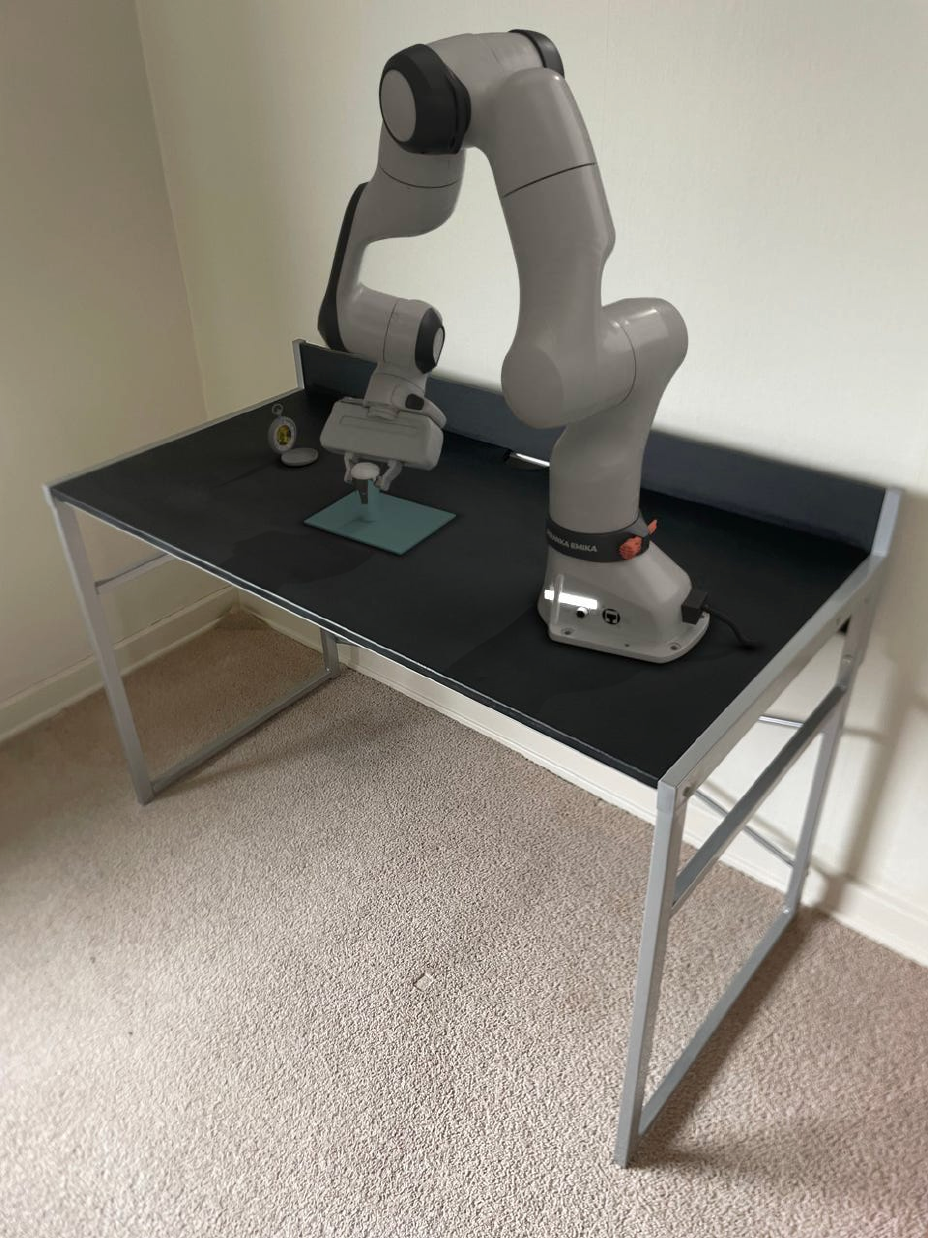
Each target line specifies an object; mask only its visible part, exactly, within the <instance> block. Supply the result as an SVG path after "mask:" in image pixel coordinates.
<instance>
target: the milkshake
mask: <svg viewBox="0 0 928 1238" xmlns="http://www.w3.org/2000/svg"><path fill="white" fill-rule="evenodd" d="M354 465H355V466H354V467H353V468H352V470H351V476H352V481H353V484H352V485H353V490H354V491H355V494H356V499H357V504H358V509H359V515H360V519H361V520H363V521H367V522H372V521H376V520H377V519H379V518H380V493H381V490H380V489H378V488H376V487H375V484H376V482H377V478H378V476H381V470H382V467H383V465H384V461H383V462H381V466H380V467H379V466H378V465H377V464H375V463H373V462H370V461H369V462H358V464H354Z"/></svg>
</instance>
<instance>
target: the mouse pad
mask: <svg viewBox="0 0 928 1238" xmlns="http://www.w3.org/2000/svg"><path fill="white" fill-rule="evenodd" d="M456 516H457V515H456V514H455V513H453V512H452V513H451V512H448V511H444V510H441V509H437V508H434V507H431V506H428V505H423V504H421V503H417V502H414V501H410V500H407V499H403V498H400V497H398V496H397V497H396V496H392V495H389V494H386V493H383V492H380V518H379V519H377V520H376V521H372V522H367V521H363V520H361V519H360V515H359V509H358V504H357V499H356V494H355V490H354V491H352V492H351V493H349V494H347V495H345V496H344V497H343V498H340V499H339V500H337V501H335V502H334V503H332V504H331V505H328V506H327V507H326V508H323V509H322V510H320V511H319V512H317V513H315V514H313V515H312V516H311V517H309V518H307V519H305V520H304V521H303V523H304V524H305V525H307V526H311V527H314V528H317V529H320V530H323V531H326V532H329V533H333V534H335V535H338V536H341V537H345V538H347V539H351V540H353V541H356V542H359V543H363V544H366V545H369V546H371V547H375V548H377V549H380V550H384V551H387V552H389V553H393V554H396V555H398V556H402V555H403V554H405V553H406V552H408V551H409V550H411V549H412V548H413V547H415V546H417V545H418V544H419V543H421V542H422V541H423V540H424V539H426V538H428V537H429V536H430V535H432V534H433V533H435V532H436V531H437V530H439V529H440V528H442V527H443V526H445V525H446V524H448V523H449V522H451V521H452V520H453V519H454V518H456Z"/></svg>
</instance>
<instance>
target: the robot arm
mask: <svg viewBox="0 0 928 1238" xmlns="http://www.w3.org/2000/svg"><path fill="white" fill-rule="evenodd" d="M378 103H379V110H380V115H381V119H382V121H381V127H380V131H379V133H380V134H379V139H378V150H377V151H378V152H377V161H376V168H375V170H374V174H373V175H372V177H371V179H370V180H368V181H364V182H362V183H359V184H358V185H357V187H356V188H355V189H354V191H353V193H352V194H351V197H350V199H349V201H348V203H347V206H346V208H345V212H344V215H343V219H342V223H341V226H340V230H339V234H338V238H337V242H336V246H335V251H334V255H333V259H332V264H331V268H330V273H329V278H328V282H327V286H326V288H325V293H324V296H323V297H322V301H321V303H320V306H319V309H318V313H317V324H316V325H317V326H316V327H317V331H318V333H319V335H320V337H321V339H322V340H323V342H324V343H325V344H326V346H327V347H328V348H329V350H331V351H333V352H340V353H344V354H351V355H358V356H360V357H364V358H366V359H370V360H374V361H378V363H377V366H376V368H375V369H374V371H373V372H372V374H371V376H370V379H369V383H368V385H367V388H366V391H365V394H364V398H353V397H350V396H344V397H343V398H341V399H338V400H337V401H336V402H334V404H333V407H332V410H331V413H330V414H329V416H328V417H327V420H326V421H325V424H324V426H323V429H322V430H321V433H320V436H319V442H320V445H321V447H322V448H323V449H325V450H326V451H328V452H329V453H330V454H336V455H341V456H343V460H344V464H345V470H346V471H345V474H344V477H343V480H344V482H345V483H346V484H350V485H353V481H352V476H351V470H352V468H353V467H354V466H355V465H356V464H358V463H359V462H360V459H363V460H369V461H374V462H380V463H383V464H387V467H388V469H387V470H386V471H385V472H384V474H382V475H380V476H378V478H377V482H376V484H375V487H376V488H378V489H380V491H385V492H386V491H387V492H388V491H389V488H390V485H391V483H392V481H394V479H396V478H397V477H398V475H400V473H401V472H402V470H403V467H407V468H412V469H418V470H422V471H423V470H424V471H428V472H430V471H432V470H433V469H434V468H435V467H436V466H437V465H438V463H439V459H440V455H441V452H442V447H443V443H444V433H443V428H444V427H445V425H446V423H447V418H446V416H445V414H444V413H443V412H442V411H441V410H440V409H439V407H437V405H435V403H433V402H432V401H431V400H429V399H428V398H426V397H425V395H426V385H427V381H428V379H429V376H430V375H431V374H432V372H433V370H434V369H435V368H436V367H438V363H439V361H440V359H441V358H440V357H441V354H442V352H443V349H444V344H445V341H446V340H445V339H446V330H445V327H444V323H443V322H444V320H443V315H442V314H441V312H440V311H439V310H438V309H437V308H436V307H434V306H433V305H432V304H431V303H428V302H426V301H424V300H421V299H413V298H411V299H408V298H404V297H399V296H396V295H392V294H389V293H385V292H382V291H378V290H376V289H372V288H370V287H368V286H366V285H365V284H364V283H363V282H362V281H361V277H362V273H363V269H364V266H365V262H366V259H367V255H368V251H369V247H370V244H372V243H375V242H379V241H384V240H388V239H400V238H414V237H415V238H416V237H419V236H422V235H423V236H424V235H426V234H429V233H432V232H433V231H435V230H437V229H438V228H441V226H443V225H444V224H445V223H447V221H448V220H450V218H451V217H452V216H453V214H454V213H455V211H456V209H457V206H458V204H459V199H460V197H461V193H462V188H463V182H464V177H465V169H466V163H467V154H468V153H467V152H468V149H472V148H476V149H478V150H479V151H481V152H482V153H483V154H484V155H485V157H486V159H487V161H488V163H489V166H490V169H491V173H492V177H493V182H494V185H495V190H496V192H497V196H498V200H499V204H500V207H501V211H502V214H503V218H504V222H505V224H506V228H507V232H508V236H509V240H510V243H511V244H510V245H511V248H512V250H513V256H514V259H515V264H516V269H517V276H518V288H519V304H518V317H517V324H516V329H515V333H514V336H513V340H512V343H511V345H510V346H509V349H508V351H507V352H506V354H505V356H504V358H503V361H502V364H501V369H500V386H501V391H502V395H503V399H504V400H505V402H506V405H507V407H508V408H509V410H510V412H511V413H512V414H513V415H514V416H515V417H516V418H517V419H518V421H520V422H521V423H522V424H524V425H525V426H527V427H529V428H531V429H536V430H545V429H555V428H561V427H565V429H564V431H563V432H562V434H561V435H560V436H559V437H558V439H557V441H556V442H555V444H554V445H553V447H552V450H551V452H550V456H549V462H548V464H549V465H548V466H549V467H548V468H549V469H548V471H549V473H548V474H549V477H548V479H549V482H548V483H549V486H548V487H549V488H548V489H549V490H548V491H549V492H548V494H549V500H548V501H549V507H548V508H547V510H546V514H545V539H546V543H547V546H548V549H547V550H548V551H547V562H546V569H545V574H544V580H543V584H542V588H541V592H540V594H539V598H538V600H537V611H538V614H539V615H540V617H541V619H542V620H543V621H544V622H545V623H546V625H547V631H548V632H547V633H548V636H549V638H550V640H552V641H553V642H558V643H563V644H566V645H571V646H576V647H580V648H585V649H591V650H595V651H599V652H604V653H609V654H613V655H617V656H623V657H628V658H632V659H636V660H640V661H646V662H651V663H656V664H665V663H668V662H671V661H674V660H676V659H678V658H680V657H682V656H684V655H685V654H686V653H688V652H689V651H691V650H692V649H693V648H694V647H695V646H696V645H697V644H698V643H699V642H700V640H702V638H703V636H704V635H705V633H706V631H707V630H708V627H709V624H710V616H711V617H713V618H716V619H718V620H719V621H721V622H723V623H724V624H725V625H727V626H728V627H730V629H731V630H732V632H733V634H734V636H735V637H736V639H737V640H738V642H740V644H742V645H744V646H747V647H752V648H757V647H758V644H759V641H758V640H752V639H748V638H747V637H746V636H744V635H743V633H742V631H741V629H740V627H739V626H738V624H737V623H736V622H735V621H733V619H731V618H730V617H728V615H725V614H724V613H722V612H720V611H718V610H715V609H714V608H712V607H710V606H708V605H707V599H708V591H706V590H700V589H696V588H693V586H692V581H691V579H690V576H689V574H688V573H687V572H686V571H685V570H684V569H683V568H682V567H680V565H678V564H677V563H676V562H675V561H674V560H673V559H671V557H669V556H668V555H667V554H666V553H665V552H664V551H663V550H662V549H661V548H659V546H658V545H656V544H655V543H654V542H653V541H652V540H651V534H652V533H654V531H655V530H656V529H657V522H658V520H657V519H653V521H652V522H650V524H647V523H646V522H645V519H644V516H643V514H642V511H641V509H640V508H639V505H640V491H641V480H642V469H643V468H642V467H643V459H644V455H645V450H646V446H647V443H648V438H649V435H650V432H651V429H652V427H653V424H654V420H655V418H656V415H657V412H658V410H659V408H660V407H659V406H660V405H661V401H662V399H663V397H664V394H665V392H666V390H667V387H668V386H669V384H670V382H671V381H672V379H673V377H674V375H675V374H676V372H678V370H679V369H680V367H681V366H682V365H683V363H684V361H685V359H686V357H687V354H688V349H689V332H688V327H687V324H686V322H685V320H684V317H683V316H682V314H681V313H680V310H678V308H676V307H675V306H674V305H673V304H672V303H671V302H669V301H668V300H666V299H664V298H661V297H656V296H640V297H625V298H621V299H619V300H615V301H612V302H610V303H607V304H604V305H603V304H602V281H603V274H604V270H605V266H606V264H607V262H608V260H609V259H610V257H611V255H612V253H613V251H614V249H615V246H616V239H617V233H616V229H615V228H616V227H615V224H614V221H613V216H612V213H611V208H610V205H609V201H608V198H607V197H608V196H607V194H606V190H605V186H604V185H605V184H604V181H603V178H602V174H601V170H600V166H599V162H598V159H597V156H596V152H595V149H594V145H593V142H592V139H591V136H590V133H589V130H588V128H587V125H586V122H585V119H584V117H583V114H582V112H581V110H580V107H579V105H578V103H577V100H576V98H575V96H574V93H573V92H572V89H571V88H570V86H569V84H568V82H567V80H566V74H565V68H564V63H563V60H562V57H561V54H560V51H559V49H558V48H557V46H556V45H555V43H554V42H553V41H552V39H551V38H549V36H547V35H546V34H544V33H541V32H539V31H536V30H531V29H524V28H523V29H521V28H513V29H510V30H508V31H500V32H499V31H498V32H497V31H496V32H493V31H492V32H480V33H471V32H465V33H461V34H456V35H451V36H448V37H444V38H441V39H437V40H434V41H431V42H428V43H415V44H413V45H410V46H407V47H405V48H403V49H401V50H399V51H398V52H396V53H394V54H393V55H392V56H391V57H389V58H388V59H387V61H386V62H385V64H384V66H383V69H382V71H381V74H380V79H379V86H378ZM383 461H384V462H383Z"/></svg>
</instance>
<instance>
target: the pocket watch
mask: <svg viewBox="0 0 928 1238" xmlns="http://www.w3.org/2000/svg"><path fill="white" fill-rule="evenodd" d="M276 406H279V407H280V409H279V408H277V409H276V412H275V411H274V409H275V407H276ZM283 409H284V408H283V405H282V404H280V403H276V404H274V405H273V406H272V407H271V413H273V414H274V415H276V416H277V417H276V418H275V419H274V420H273V421H271V424H270V426H269V428H268V432H267V442H268V445H269V447H270V448H271V450H272V451H273V452H275V453H277V454H280V455H281V456H280V457H281V462H282V463H283V464H284V465H287V466H290V467H299V466H301V467H302V466H306V465H309V464H311V463H314V462H315V461H316V460H317V459H319V458H318V457H319V453H318V451H317V450H316V449H315V448H311V447H299V448H297V447H296V448H293V447H294V445H295V443H296V439H297V427H296V423H295V422H294V421H293V419H291V418H290V417H288V416H282V413H283ZM281 442H282V443H281ZM292 448H293V449H292Z"/></svg>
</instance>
